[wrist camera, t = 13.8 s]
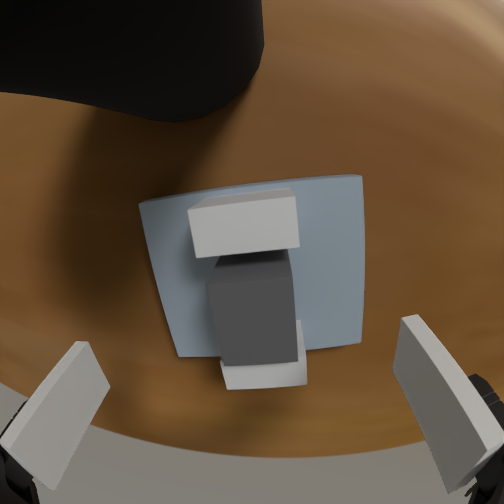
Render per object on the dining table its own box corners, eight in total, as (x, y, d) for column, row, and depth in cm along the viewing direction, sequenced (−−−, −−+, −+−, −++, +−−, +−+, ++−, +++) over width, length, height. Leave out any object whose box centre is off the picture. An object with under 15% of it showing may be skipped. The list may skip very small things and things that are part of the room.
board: (184, 342, 23) (164, 391, 17) (150, 199, 19) (107, 216, 13) (354, 328, 21) (375, 377, 16) (352, 174, 18) (387, 182, 12)
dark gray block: (234, 319, 19) (224, 366, 15) (222, 250, 18) (205, 284, 13) (292, 314, 19) (298, 361, 14) (286, 244, 18) (292, 276, 13)
